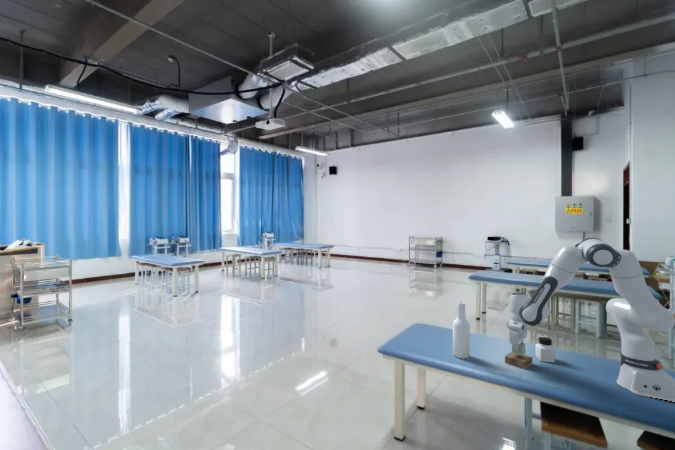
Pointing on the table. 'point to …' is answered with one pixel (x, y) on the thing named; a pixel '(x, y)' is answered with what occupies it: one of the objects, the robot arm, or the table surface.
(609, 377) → the table surface
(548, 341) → the medicine bottle
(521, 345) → the sage green block
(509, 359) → the walnut block
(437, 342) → the table surface
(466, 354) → the alcohol
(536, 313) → the robot arm
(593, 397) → the table surface
